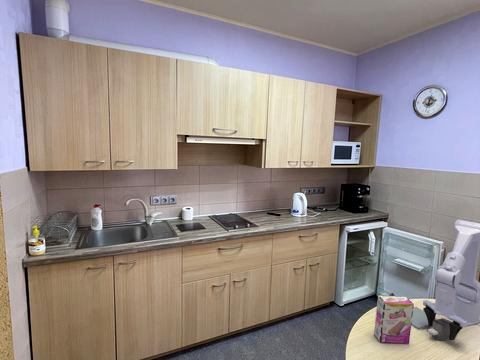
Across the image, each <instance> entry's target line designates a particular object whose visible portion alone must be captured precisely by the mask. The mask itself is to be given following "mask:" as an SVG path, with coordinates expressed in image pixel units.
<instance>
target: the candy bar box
mask: <svg viewBox="0 0 480 360" xmlns="http://www.w3.org/2000/svg"><path fill="white" fill-rule="evenodd" d="M413 307H415V304H414V303H413V301H412V300H410V299H409V298H408V297H407V296H396V295H395V296H389V295H377V301H376V310H375V321H374V329H373V331H374V332H373V335H374V337H375V338H376V339H377V341H378V342H379V343H381V344H404V345H409V344H410V340H411V339H410V338H411V332H412V331H411V330H412V325H411V323H412V315H413Z"/></svg>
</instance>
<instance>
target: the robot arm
mask: <svg viewBox="0 0 480 360" xmlns="http://www.w3.org/2000/svg"><path fill="white" fill-rule="evenodd" d="M453 231H454V235H455V237H456V239H455V241H454V244H453V245H454V246H453V248H452V250H451V252H447V254H446V256H445V259H444V261H443V263H442V265H441V267H439V268H437V269H436V271H435V275H434V280H435V287H436V292H435V299H434V301H435V302H432V301H430V300H427V299H425V300H423V301H422V306H424V307H423V309H422V310H423V311H424V312H425V314H426V316H427V320H428V325H429V327H428V328H432V327H433V320H435V318H437V317H436V316H437V315H438V316H441V317H445V318H446V319H448V320H449V321H451V322H450V323H449V328H450V334H449V339H448V340H449V341H455V340H456V338H457V335H458V334H459V333H460V331H462V329H464V328H467V327H468V326H473V325H475V324H480V281H479V280H477V271H478V267H479V266H478V264H479V258H480V223H479V222H473V221H469V220H463V219H457V220H456V221H455V222H454V226H453Z"/></svg>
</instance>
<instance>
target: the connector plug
mask: <svg viewBox="0 0 480 360" xmlns="http://www.w3.org/2000/svg"><path fill="white" fill-rule="evenodd" d="M450 322H452V320H450V319H448V318H443V317H441V318H437V320H433V327H430V328H429V329H428V330H427V332H428V333H430V334H431V338H433V339H434V340H436V341H439V342H443V341H446V340H450V339H449V334H450V328H449V323H450Z"/></svg>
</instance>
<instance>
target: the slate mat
mask: <svg viewBox="0 0 480 360" xmlns="http://www.w3.org/2000/svg"><path fill="white" fill-rule="evenodd" d="M437 319H438V318H437V317H435V320H437ZM411 327H414V328H415V329H416V330H417V331H418V330H421V329H425V328H426V329H427V328H430V327H429V325H428V320H427V316H426V314H425V312H424V310H423V309H421V308H419V307H418V306H414V307H413V315H412V323H411Z"/></svg>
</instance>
